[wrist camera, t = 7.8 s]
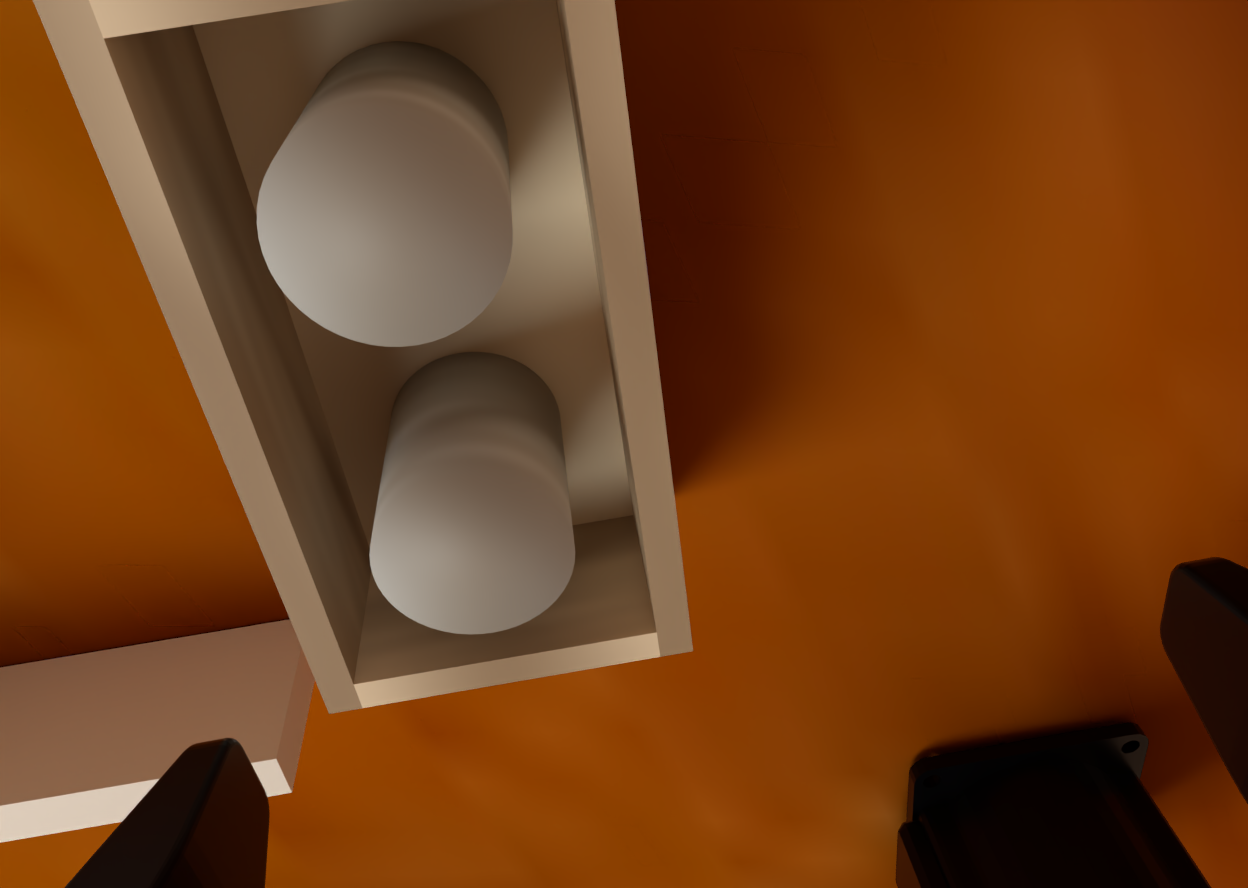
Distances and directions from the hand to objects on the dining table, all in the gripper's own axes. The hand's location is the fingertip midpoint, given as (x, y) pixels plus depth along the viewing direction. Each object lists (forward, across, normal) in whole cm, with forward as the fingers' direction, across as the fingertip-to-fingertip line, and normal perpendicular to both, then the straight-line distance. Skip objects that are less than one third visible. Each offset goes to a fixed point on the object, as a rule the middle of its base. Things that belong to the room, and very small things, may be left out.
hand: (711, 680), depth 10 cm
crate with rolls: (+11, +3, 0) cm, 11 cm away
